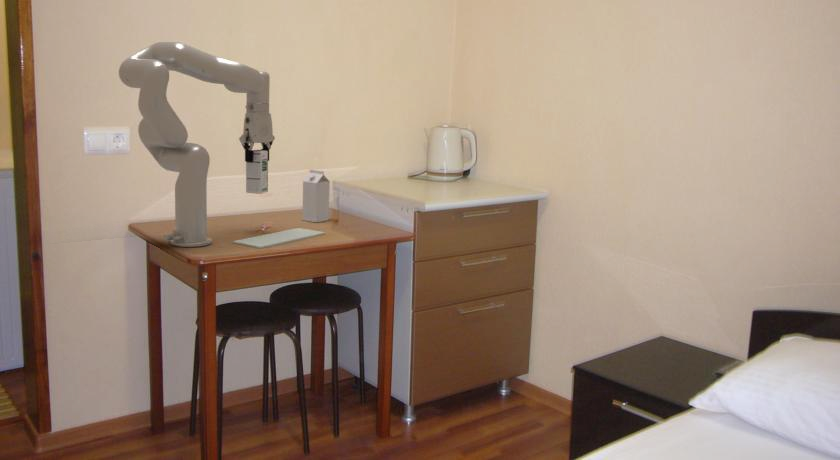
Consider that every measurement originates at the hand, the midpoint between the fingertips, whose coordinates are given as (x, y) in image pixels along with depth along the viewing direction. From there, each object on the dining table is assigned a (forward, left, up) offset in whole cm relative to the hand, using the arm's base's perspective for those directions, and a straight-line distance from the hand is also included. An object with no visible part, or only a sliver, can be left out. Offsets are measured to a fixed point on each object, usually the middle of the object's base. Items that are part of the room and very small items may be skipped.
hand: (257, 160), depth 263 cm
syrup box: (0, 0, -11) cm, 11 cm away
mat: (-3, -14, -24) cm, 28 cm away
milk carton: (+31, -1, -25) cm, 39 cm away
